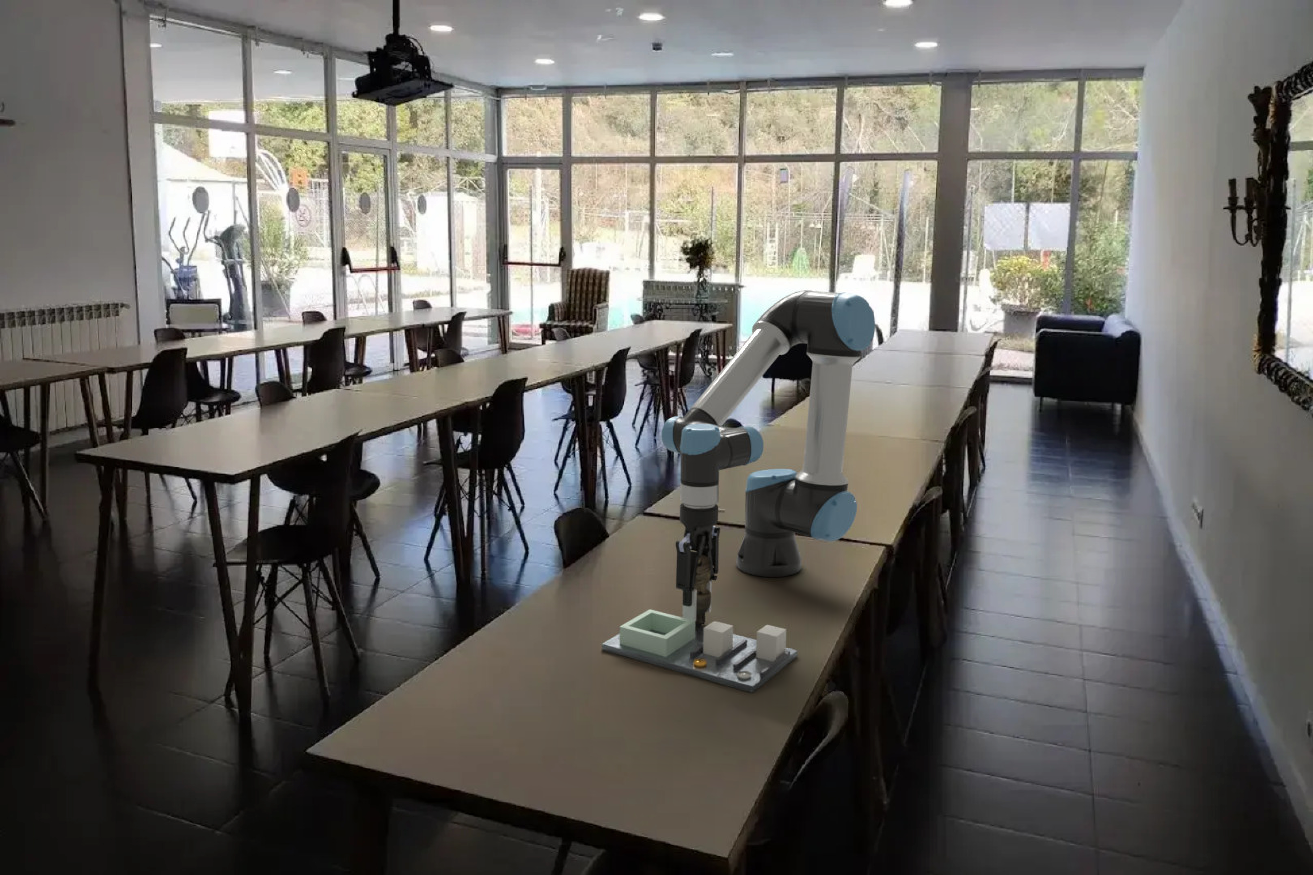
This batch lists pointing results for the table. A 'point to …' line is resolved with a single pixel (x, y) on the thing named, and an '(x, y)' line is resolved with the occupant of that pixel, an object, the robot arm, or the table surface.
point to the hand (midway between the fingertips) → (696, 615)
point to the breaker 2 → (770, 642)
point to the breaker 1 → (717, 639)
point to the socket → (663, 645)
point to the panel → (712, 661)
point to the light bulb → (702, 589)
